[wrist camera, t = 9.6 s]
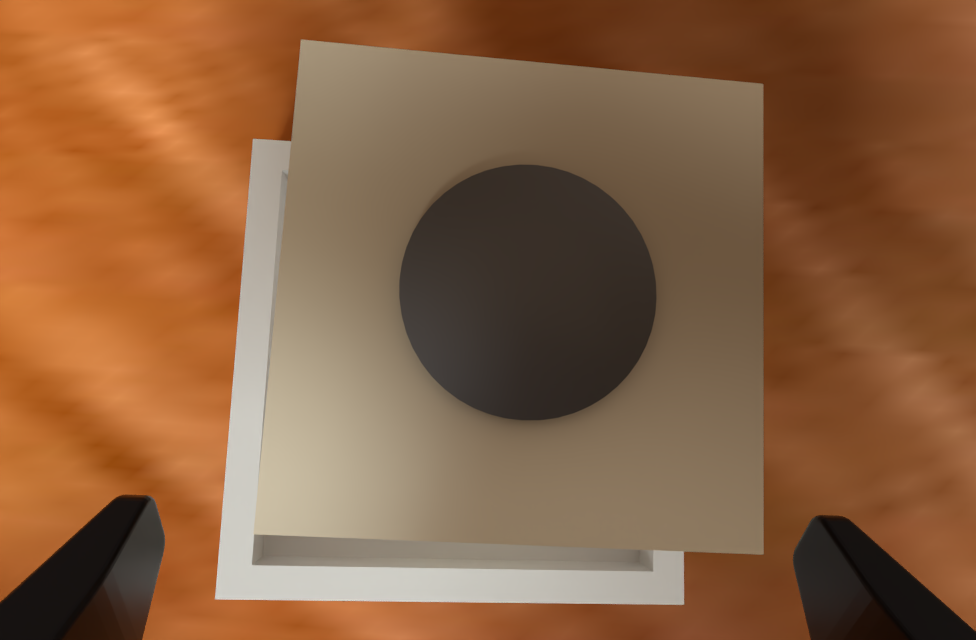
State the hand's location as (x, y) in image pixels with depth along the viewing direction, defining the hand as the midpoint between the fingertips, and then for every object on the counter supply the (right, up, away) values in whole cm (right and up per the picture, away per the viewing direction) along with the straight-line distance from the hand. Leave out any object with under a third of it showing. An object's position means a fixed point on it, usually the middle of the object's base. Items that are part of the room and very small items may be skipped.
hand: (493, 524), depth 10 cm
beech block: (-1, +1, +10) cm, 10 cm away
